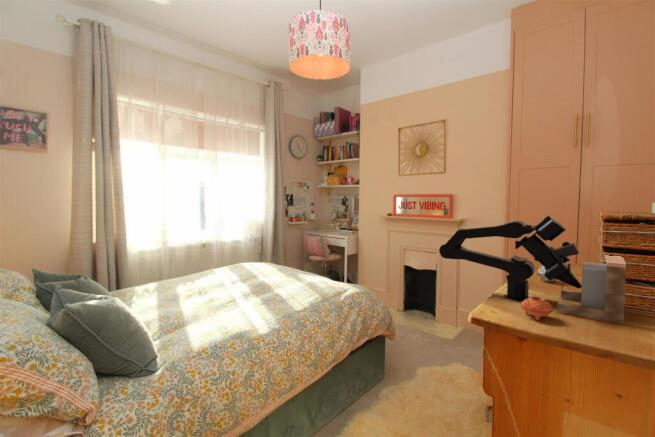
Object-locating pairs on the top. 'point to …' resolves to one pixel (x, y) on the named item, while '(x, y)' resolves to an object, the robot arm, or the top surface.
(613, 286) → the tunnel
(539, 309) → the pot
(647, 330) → the top surface
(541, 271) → the game die
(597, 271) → the tall block
